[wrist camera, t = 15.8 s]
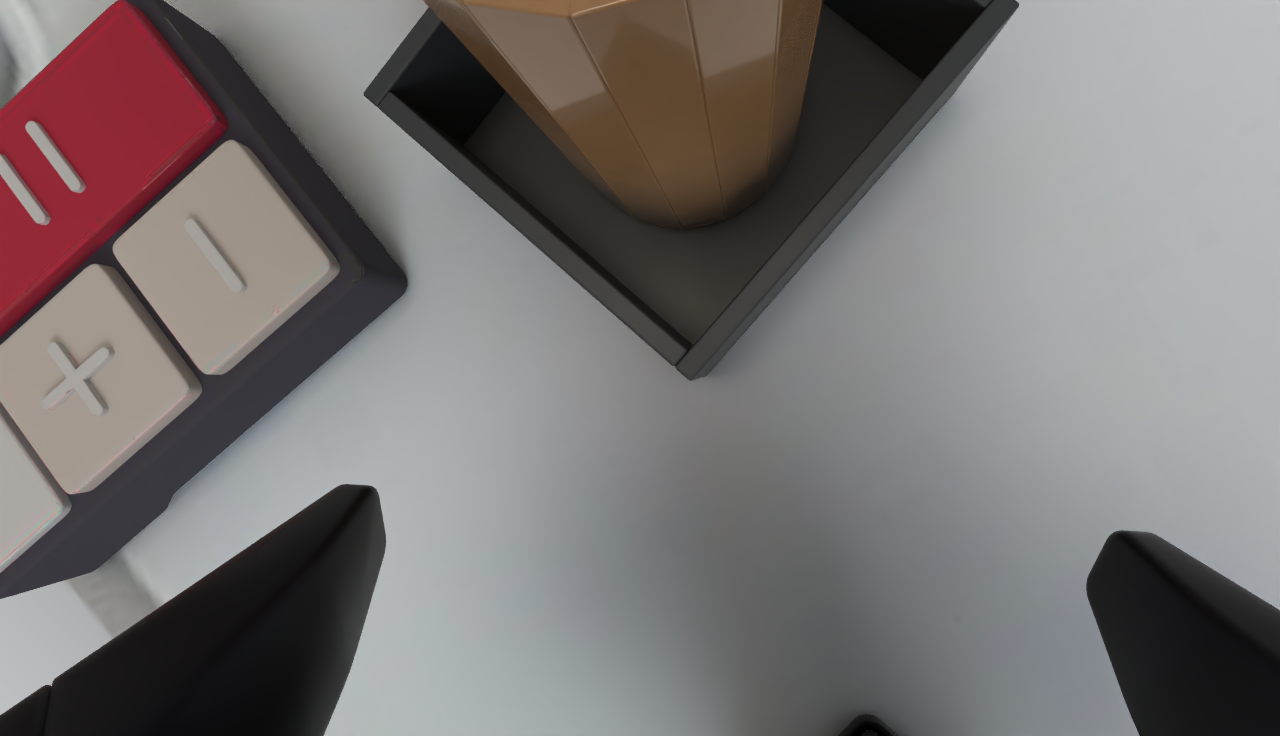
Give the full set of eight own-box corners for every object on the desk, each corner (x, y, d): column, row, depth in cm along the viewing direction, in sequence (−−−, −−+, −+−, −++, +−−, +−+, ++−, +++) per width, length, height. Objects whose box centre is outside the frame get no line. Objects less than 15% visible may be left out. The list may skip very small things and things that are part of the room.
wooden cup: (845, 79, 20) (1014, -433, 7) (713, 272, 21) (649, 124, 8) (656, -37, 21) (499, -687, 8) (534, 153, 21) (204, -163, 8)
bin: (955, 91, 20) (1021, 3, 15) (705, 377, 21) (690, 381, 16) (670, -129, 21) (645, -279, 16) (448, 153, 22) (361, 93, 17)
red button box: (355, 267, 19) (-48, 619, 20) (423, 289, 23) (89, 577, 24) (117, -37, 20) (-254, 314, 21) (225, 38, 24) (-88, 326, 25)
